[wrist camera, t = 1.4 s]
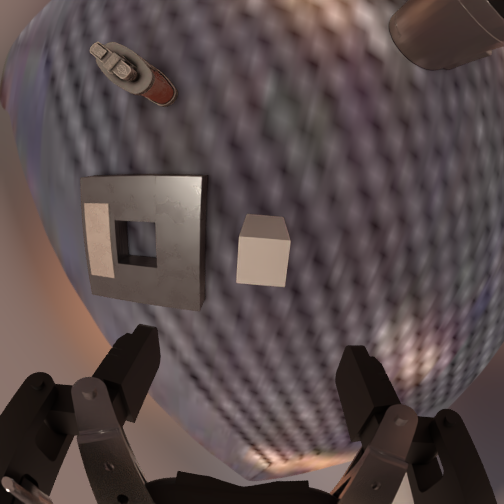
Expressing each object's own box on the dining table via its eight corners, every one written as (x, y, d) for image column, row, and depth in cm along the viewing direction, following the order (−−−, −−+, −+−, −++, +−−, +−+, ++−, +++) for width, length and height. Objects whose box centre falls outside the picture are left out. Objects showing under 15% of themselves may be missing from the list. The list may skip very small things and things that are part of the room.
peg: (283, 217, 30) (290, 240, 21) (279, 251, 31) (284, 287, 22) (246, 213, 30) (239, 236, 21) (244, 248, 31) (236, 282, 22)
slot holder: (207, 175, 28) (201, 176, 25) (205, 298, 33) (199, 312, 30) (94, 175, 29) (79, 178, 26) (103, 284, 34) (91, 294, 31)
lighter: (184, 91, 25) (149, 64, 16) (163, 113, 26) (120, 97, 17) (142, 56, 24) (99, 27, 14) (123, 77, 25) (75, 55, 15)
